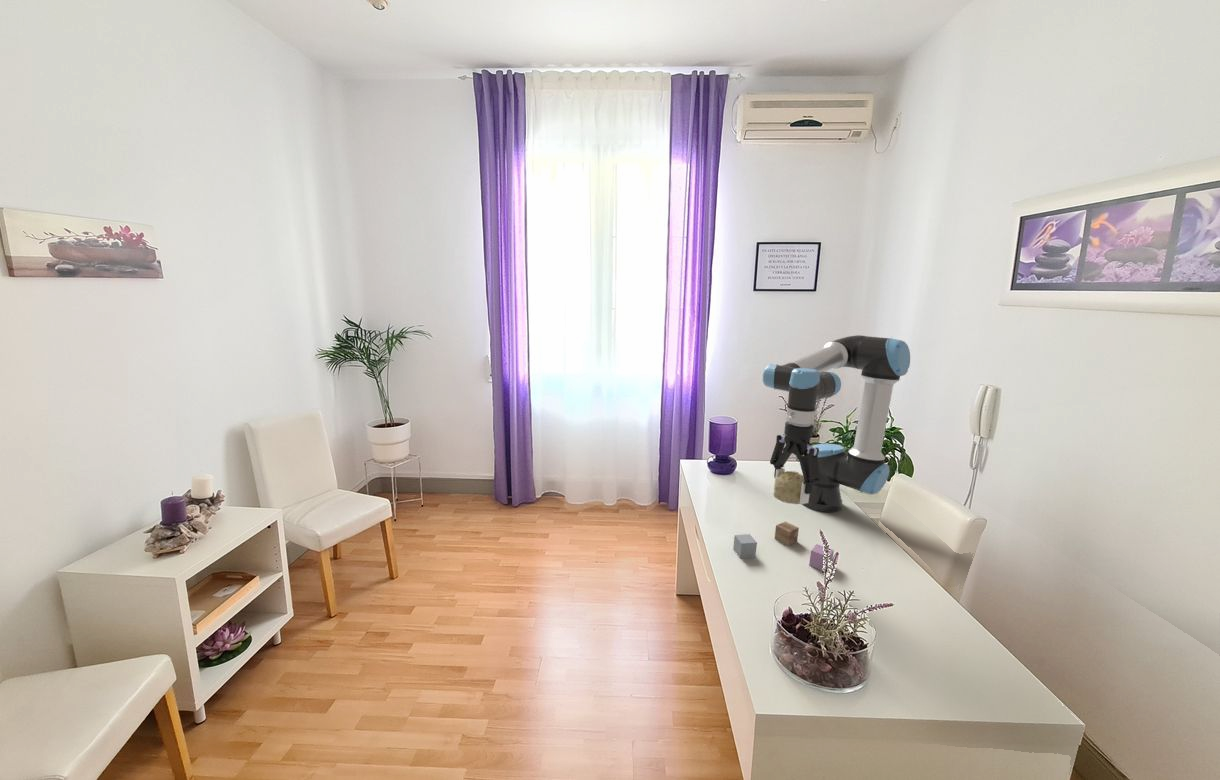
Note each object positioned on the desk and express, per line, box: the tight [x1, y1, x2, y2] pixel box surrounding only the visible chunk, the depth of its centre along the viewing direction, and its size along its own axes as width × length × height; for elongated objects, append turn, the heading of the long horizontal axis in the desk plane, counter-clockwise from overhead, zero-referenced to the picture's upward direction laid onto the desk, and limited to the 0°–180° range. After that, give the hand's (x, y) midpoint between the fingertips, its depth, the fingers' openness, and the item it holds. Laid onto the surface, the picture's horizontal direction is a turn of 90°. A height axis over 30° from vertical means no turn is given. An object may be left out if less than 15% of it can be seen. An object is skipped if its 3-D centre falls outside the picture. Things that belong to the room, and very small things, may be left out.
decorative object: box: [772, 470, 805, 505], centre depth 145 cm, size 9×10×10 cm
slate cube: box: [732, 533, 758, 559], centre depth 152 cm, size 5×5×5 cm
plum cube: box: [808, 543, 835, 571], centre depth 146 cm, size 5×5×5 cm
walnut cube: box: [774, 521, 800, 546], centre depth 160 cm, size 5×5×5 cm
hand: (790, 495), depth 145 cm, fingers closed on decorative object, 9 cm apart
